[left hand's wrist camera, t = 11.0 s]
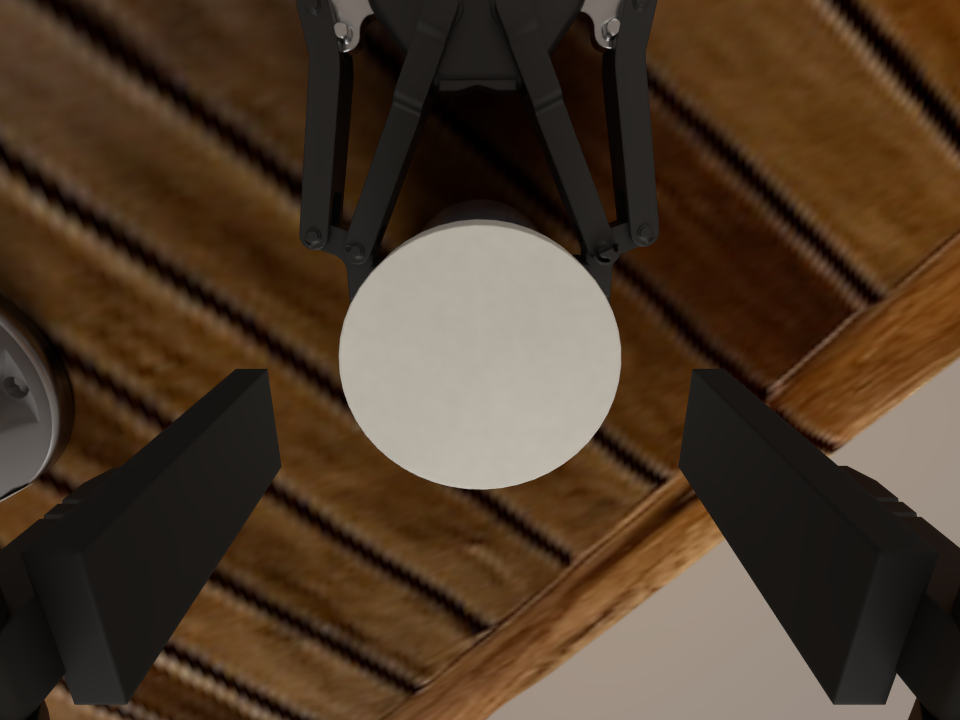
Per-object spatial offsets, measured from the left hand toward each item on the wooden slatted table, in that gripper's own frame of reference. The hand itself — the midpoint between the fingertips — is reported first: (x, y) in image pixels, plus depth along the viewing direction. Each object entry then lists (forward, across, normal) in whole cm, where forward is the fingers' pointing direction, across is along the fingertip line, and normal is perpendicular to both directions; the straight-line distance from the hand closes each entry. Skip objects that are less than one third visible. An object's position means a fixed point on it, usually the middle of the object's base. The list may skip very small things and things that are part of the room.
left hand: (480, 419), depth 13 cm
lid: (+4, 0, 0) cm, 4 cm away
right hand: (+13, 0, -5) cm, 14 cm away
